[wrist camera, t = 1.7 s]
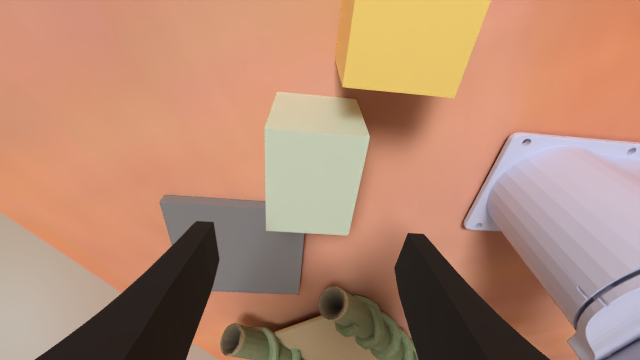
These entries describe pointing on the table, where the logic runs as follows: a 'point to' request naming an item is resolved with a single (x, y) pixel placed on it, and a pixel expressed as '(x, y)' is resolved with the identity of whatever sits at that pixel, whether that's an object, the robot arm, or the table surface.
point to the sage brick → (313, 163)
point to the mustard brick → (407, 44)
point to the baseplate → (241, 243)
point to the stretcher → (326, 334)
